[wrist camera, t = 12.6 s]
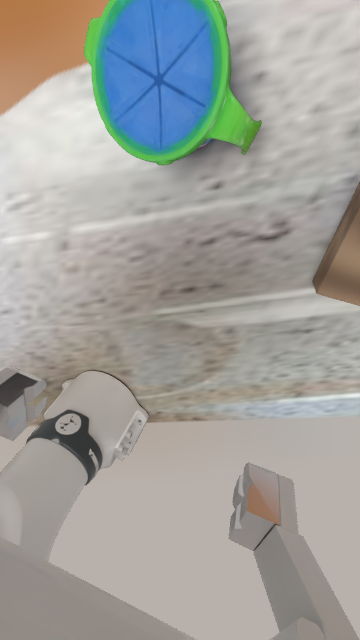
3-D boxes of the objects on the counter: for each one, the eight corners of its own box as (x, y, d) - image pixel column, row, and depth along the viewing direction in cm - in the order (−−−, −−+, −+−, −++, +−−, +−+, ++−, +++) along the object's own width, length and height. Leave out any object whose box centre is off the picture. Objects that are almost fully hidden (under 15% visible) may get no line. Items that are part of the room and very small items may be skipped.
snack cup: (111, 114, 30) (45, 90, 22) (155, -11, 24) (89, -111, 16) (222, 200, 31) (200, 209, 22) (290, 97, 25) (297, 57, 16)
